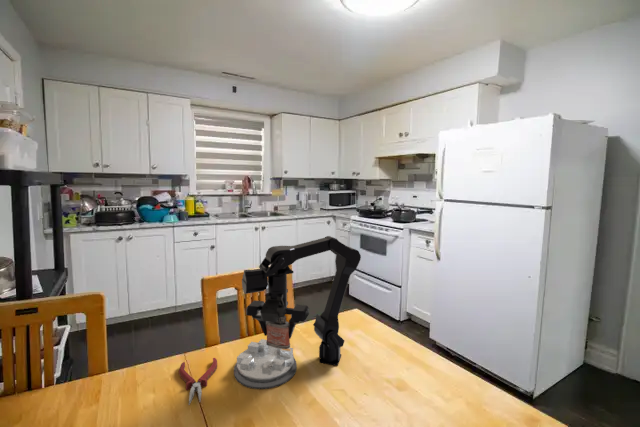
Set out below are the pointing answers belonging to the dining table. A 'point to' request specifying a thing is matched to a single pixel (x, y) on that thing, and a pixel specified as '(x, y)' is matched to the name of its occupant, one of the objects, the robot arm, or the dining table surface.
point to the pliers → (197, 385)
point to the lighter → (278, 334)
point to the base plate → (265, 384)
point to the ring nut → (264, 362)
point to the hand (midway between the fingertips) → (277, 336)
